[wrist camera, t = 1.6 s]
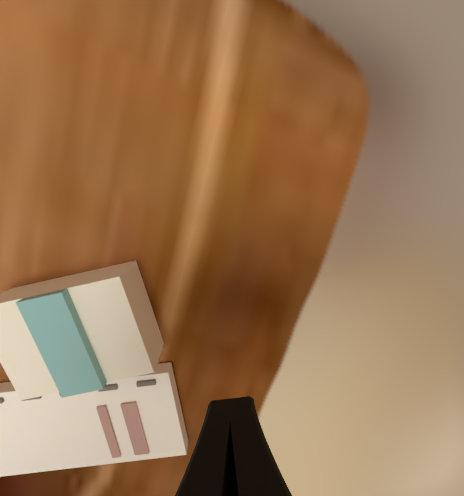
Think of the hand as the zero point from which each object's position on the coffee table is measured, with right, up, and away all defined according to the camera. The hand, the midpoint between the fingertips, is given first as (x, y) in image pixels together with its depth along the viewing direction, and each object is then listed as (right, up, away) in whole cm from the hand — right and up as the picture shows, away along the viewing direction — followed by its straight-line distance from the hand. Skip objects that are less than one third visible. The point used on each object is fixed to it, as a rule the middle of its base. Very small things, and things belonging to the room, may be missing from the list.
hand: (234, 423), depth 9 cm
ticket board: (-13, -7, +11) cm, 18 cm away
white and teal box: (-9, +1, +9) cm, 13 cm away
